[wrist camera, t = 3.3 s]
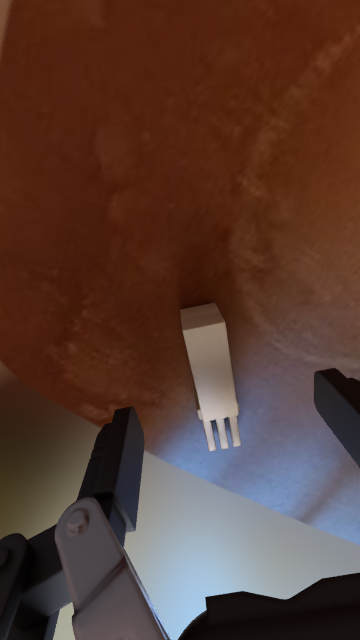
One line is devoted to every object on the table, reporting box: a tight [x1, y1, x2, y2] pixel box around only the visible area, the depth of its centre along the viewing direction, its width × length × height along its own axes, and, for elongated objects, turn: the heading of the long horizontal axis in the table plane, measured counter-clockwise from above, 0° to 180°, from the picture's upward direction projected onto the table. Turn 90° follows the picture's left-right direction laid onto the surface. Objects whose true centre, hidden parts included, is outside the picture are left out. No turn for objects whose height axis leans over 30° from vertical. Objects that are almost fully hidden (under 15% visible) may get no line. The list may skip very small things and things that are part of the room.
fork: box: [180, 303, 241, 451], centre depth 17 cm, size 12×3×3 cm, turn 12°
